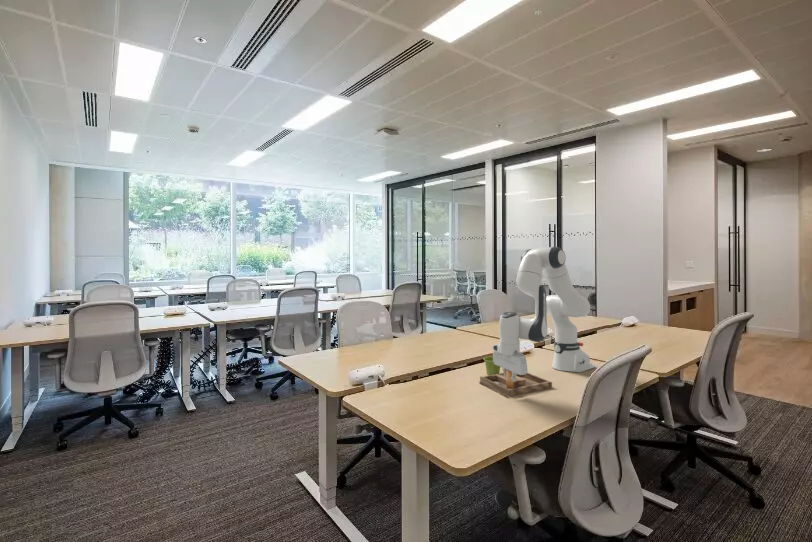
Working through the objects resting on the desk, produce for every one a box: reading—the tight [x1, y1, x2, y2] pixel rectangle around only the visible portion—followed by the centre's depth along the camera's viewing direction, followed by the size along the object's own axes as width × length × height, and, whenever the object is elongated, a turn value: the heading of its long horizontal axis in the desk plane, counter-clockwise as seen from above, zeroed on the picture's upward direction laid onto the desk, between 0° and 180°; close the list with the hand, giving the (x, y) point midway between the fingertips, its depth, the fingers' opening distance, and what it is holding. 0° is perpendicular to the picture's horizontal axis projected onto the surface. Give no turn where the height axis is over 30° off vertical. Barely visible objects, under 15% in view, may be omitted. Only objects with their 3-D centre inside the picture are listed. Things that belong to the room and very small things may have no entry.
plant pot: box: [483, 356, 501, 376], centre depth 204 cm, size 9×9×9 cm
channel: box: [478, 372, 553, 399], centre depth 187 cm, size 25×22×3 cm
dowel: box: [506, 370, 513, 389], centre depth 179 cm, size 3×3×8 cm
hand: (509, 379), depth 179 cm, fingers closed on dowel, 3 cm apart
